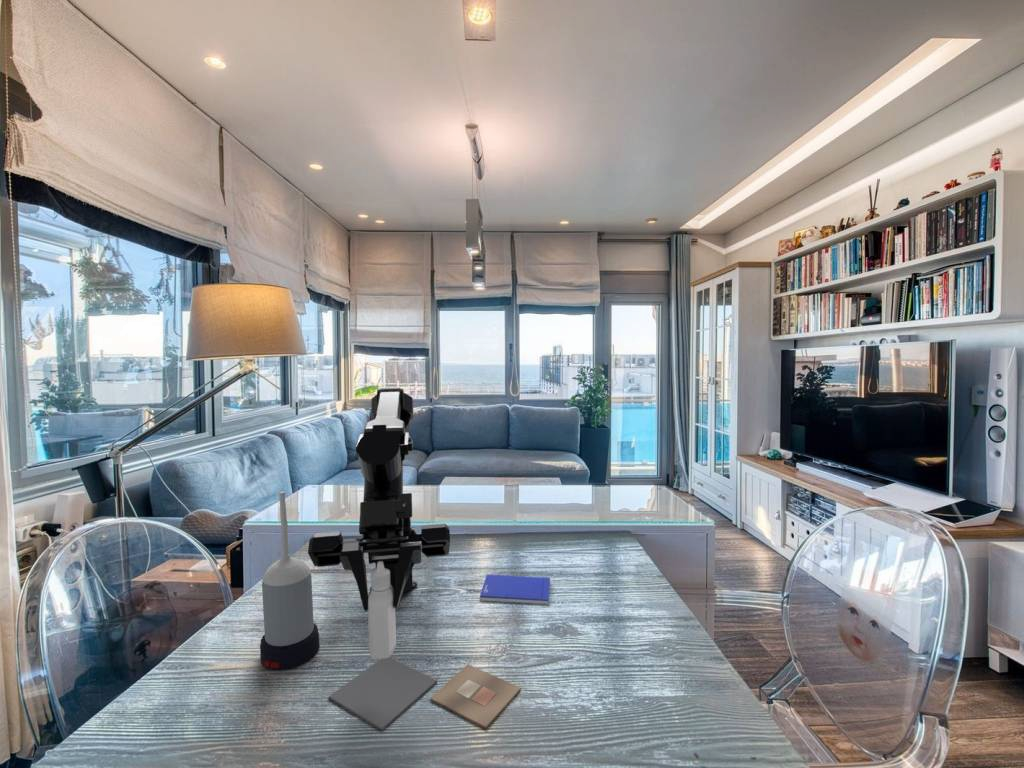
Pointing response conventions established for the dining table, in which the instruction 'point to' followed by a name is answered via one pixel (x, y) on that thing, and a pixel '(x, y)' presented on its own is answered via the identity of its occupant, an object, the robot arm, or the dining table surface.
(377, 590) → the eye dropper bottle
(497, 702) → the board
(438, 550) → the robot arm
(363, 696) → the mat
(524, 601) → the hard drive
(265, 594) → the humidifier
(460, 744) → the dining table surface
